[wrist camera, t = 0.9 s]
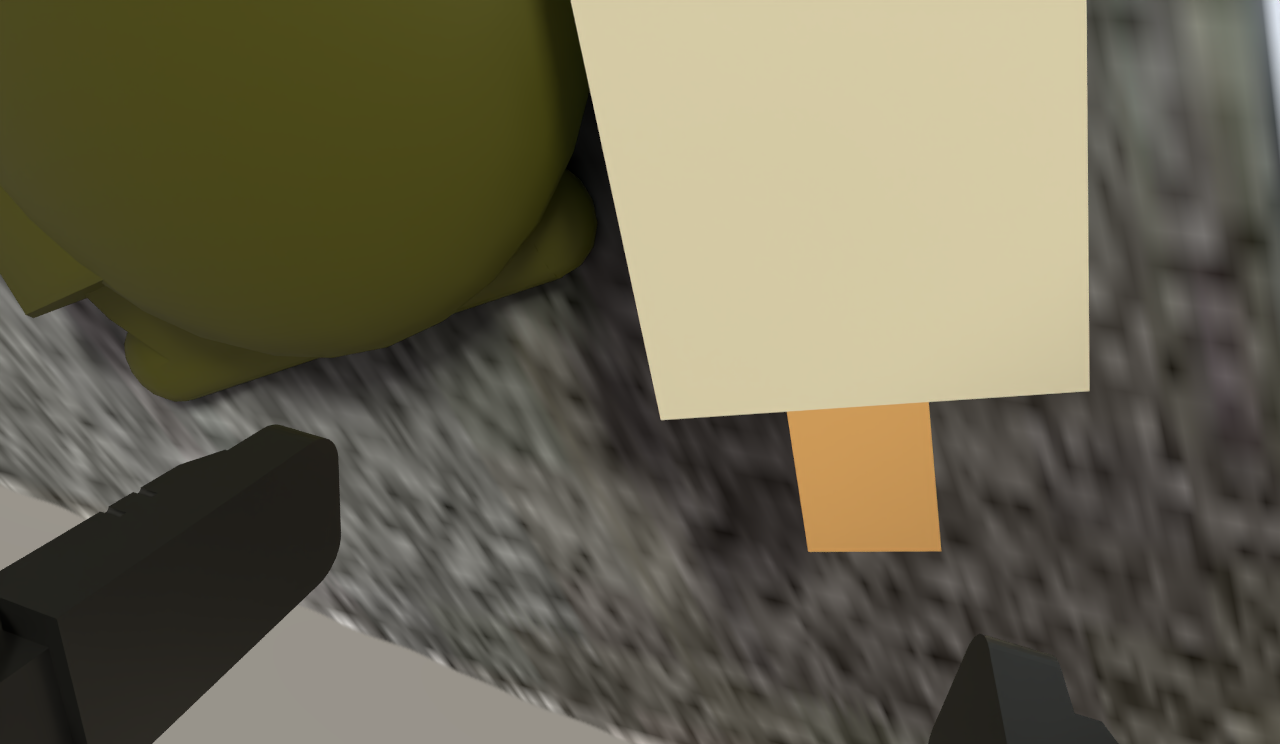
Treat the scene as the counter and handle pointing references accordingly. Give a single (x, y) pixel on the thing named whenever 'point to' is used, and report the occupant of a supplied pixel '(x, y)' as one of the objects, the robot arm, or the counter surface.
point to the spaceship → (285, 171)
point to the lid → (849, 223)
